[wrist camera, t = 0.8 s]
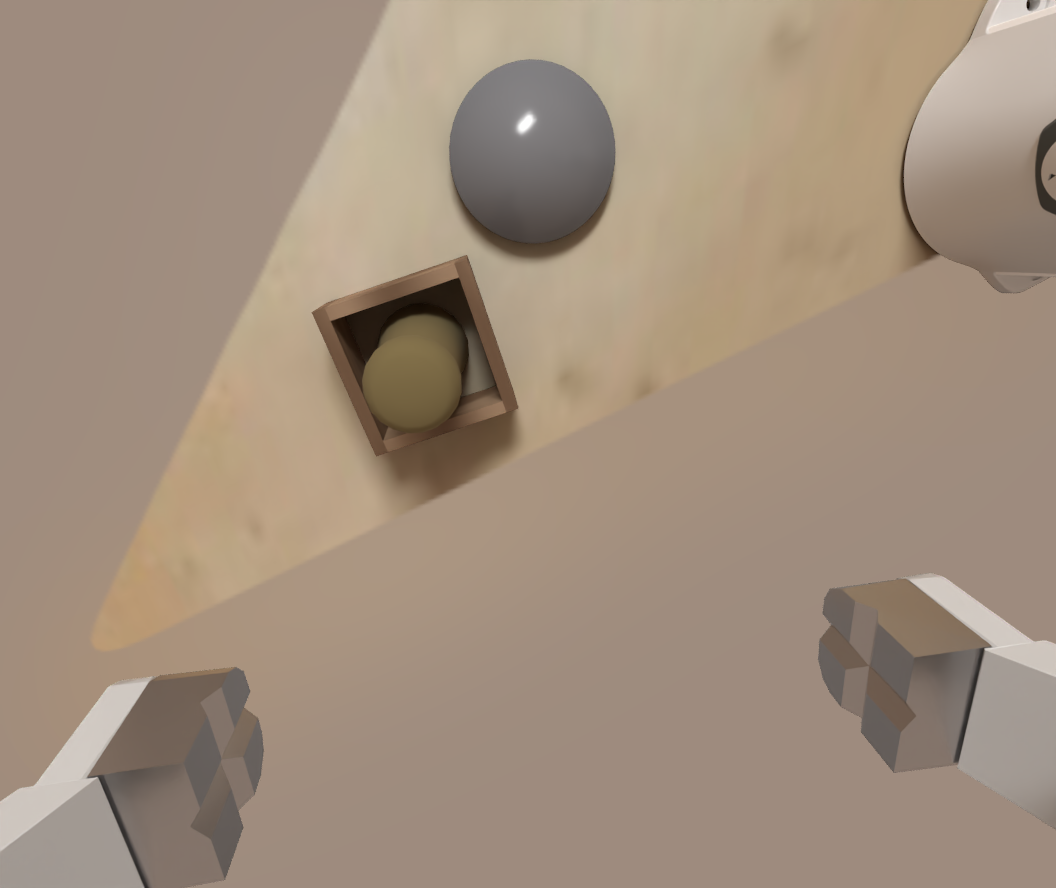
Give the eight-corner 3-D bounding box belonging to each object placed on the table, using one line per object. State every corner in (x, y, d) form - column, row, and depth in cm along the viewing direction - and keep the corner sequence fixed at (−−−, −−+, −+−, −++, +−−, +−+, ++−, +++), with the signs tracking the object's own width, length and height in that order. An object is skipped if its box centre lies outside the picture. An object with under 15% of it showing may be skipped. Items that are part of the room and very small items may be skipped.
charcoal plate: (587, 39, 36) (590, 34, 35) (629, 213, 40) (632, 213, 39) (425, 95, 36) (424, 92, 35) (481, 263, 40) (482, 264, 39)
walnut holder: (467, 255, 40) (467, 259, 36) (513, 391, 43) (518, 408, 39) (326, 303, 40) (311, 312, 36) (383, 435, 43) (376, 456, 39)
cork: (476, 383, 43) (480, 437, 32) (389, 399, 42) (366, 459, 32) (458, 295, 40) (457, 323, 30) (367, 312, 40) (334, 346, 30)
